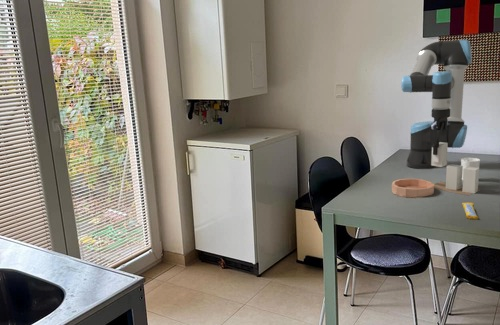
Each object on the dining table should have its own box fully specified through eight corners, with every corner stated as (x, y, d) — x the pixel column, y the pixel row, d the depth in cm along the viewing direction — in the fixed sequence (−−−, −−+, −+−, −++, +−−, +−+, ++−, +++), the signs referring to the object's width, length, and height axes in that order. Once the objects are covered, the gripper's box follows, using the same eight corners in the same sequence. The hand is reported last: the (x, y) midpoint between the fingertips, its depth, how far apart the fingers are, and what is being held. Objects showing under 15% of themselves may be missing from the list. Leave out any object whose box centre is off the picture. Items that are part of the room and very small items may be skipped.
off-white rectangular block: (451, 186, 201) (452, 164, 199) (461, 188, 198) (462, 165, 196) (445, 188, 199) (446, 165, 197) (456, 190, 195) (457, 167, 193)
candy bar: (479, 221, 162) (479, 216, 161) (466, 220, 163) (466, 215, 163) (473, 206, 177) (473, 201, 177) (461, 205, 179) (461, 201, 178)
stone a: (436, 163, 206) (437, 141, 203) (446, 165, 202) (447, 142, 200) (431, 165, 203) (432, 143, 201) (441, 167, 199) (442, 144, 197)
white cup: (480, 182, 206) (482, 161, 204) (462, 182, 208) (463, 161, 206) (476, 178, 214) (477, 157, 212) (458, 178, 215) (459, 157, 213)
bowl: (406, 184, 209) (407, 176, 208) (441, 191, 196) (442, 183, 195) (384, 192, 199) (384, 184, 198) (419, 200, 186) (419, 191, 185)
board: (440, 182, 209) (440, 181, 209) (482, 190, 195) (482, 189, 194) (425, 188, 202) (425, 187, 202) (468, 196, 188) (468, 195, 187)
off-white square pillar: (465, 189, 196) (466, 166, 194) (477, 190, 193) (479, 167, 190) (462, 191, 193) (463, 168, 191) (474, 193, 190) (475, 170, 187)
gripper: (438, 111, 188) (436, 165, 194) (460, 106, 199) (457, 158, 204) (421, 110, 194) (420, 163, 200) (443, 105, 204) (441, 155, 210)
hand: (439, 160), depth 202 cm, fingers closed on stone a, 4 cm apart
